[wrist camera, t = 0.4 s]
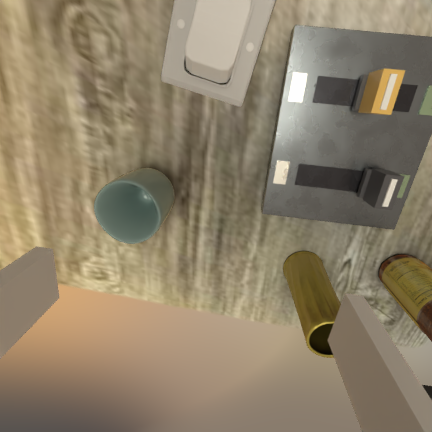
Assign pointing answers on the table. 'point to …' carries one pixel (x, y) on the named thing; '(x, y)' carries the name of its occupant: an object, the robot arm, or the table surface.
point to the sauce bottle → (410, 288)
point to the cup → (135, 205)
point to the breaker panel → (346, 125)
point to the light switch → (215, 46)
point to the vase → (312, 299)
